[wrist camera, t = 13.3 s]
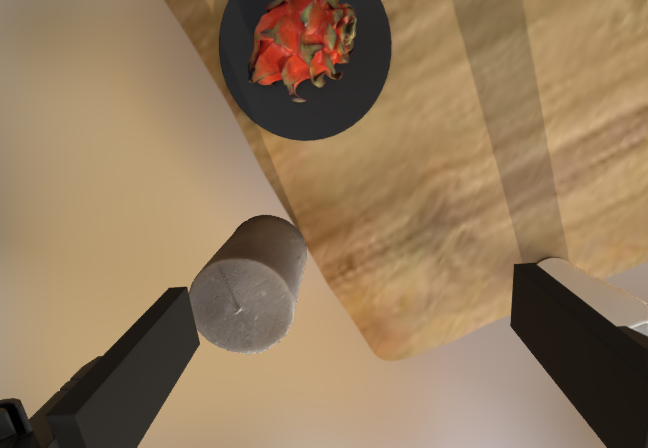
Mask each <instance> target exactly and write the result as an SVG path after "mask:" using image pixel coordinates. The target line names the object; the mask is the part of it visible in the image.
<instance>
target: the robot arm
mask: <svg viewBox="0 0 648 448" xmlns="http://www.w3.org/2000/svg"><path fill="white" fill-rule="evenodd" d="M510 326H511V327H512V329H513V330H514V331H515V332H516V334H517V335H518V336H519V337H520V339H521V340H522V341H523V343H524V344H525V345H526V346H527V347H528V349H529V350H530V351H531V353H532V354H533V355H534V356H535V358H536V359H537V360H538V361H539V363H540V364H541V365H542V366H543V368H544V369H545V370H546V371H547V373H548V374H549V375H550V376H551V378H552V379H553V380H554V381H555V383H556V384H557V385H558V387H559V388H560V389H561V390H562V391H563V393H564V394H565V395H566V397H567V398H568V399H569V400H570V402H571V403H572V404H573V405H574V406H575V408H576V409H577V410H578V412H579V413H580V414H581V415H582V417H583V418H584V419H585V420H586V421H587V423H588V424H589V426H590V427H591V428H592V429H593V430H594V432H595V433H596V434H597V435H598V437H599V438H600V439H601V441H602V442H603V443H604V444H605V446H606V447H607V448H648V336H646V335H644V334H642V333H640V332H638V331H636V330H633V329H631V328H629V327H627V326H615V325H614V324H613V323H611V322H610V321H609V320H608V319H606V318H605V317H604V316H602V315H601V314H600V313H599V312H597V311H596V310H595V309H593V308H592V307H591V306H590V305H588V304H587V303H586V302H584V301H583V300H582V299H581V298H579V297H578V296H577V295H575V294H574V293H573V292H572V291H570V290H569V289H568V288H566V287H565V286H564V285H563V284H561V283H560V282H559V281H557V280H556V279H555V278H554V277H552V276H551V275H550V274H548V273H547V272H546V271H545V270H543V269H542V268H541V267H539V266H538V265H537V264H535V263H525V264H514V276H513V292H512V308H511V325H510ZM199 345H200V342H199V337H198V333H197V328H196V324H195V320H194V315H193V311H192V306H191V302H190V297H189V293H188V289H187V287H175V288H169V289H168V290H167V291H166V292H165V293H164V294H163V295H162V296H161V297H160V298H159V299H158V300H157V301H156V302H155V303H154V304H153V305H152V306H151V307H150V308H149V309H148V310H147V311H146V312H145V313H144V314H143V315H142V316H141V317H140V318H139V319H138V320H137V321H136V323H134V324H133V325H132V327H131V328H130V329H129V330H128V331H127V332H126V333H125V334H124V335H123V336H122V337H121V338H120V339H119V340H118V341H117V342H116V343H115V344H114V345H113V346H112V347H111V348H110V349H109V350H108V351H107V352H106V353H105V354H104V355H103V356H98V357H97V358H95V359H94V360H92V361H91V362H89V363H88V364H86V365H85V366H83V367H82V368H81V369H80V370H79V371H78V372H77V373H76V374H75V375H74V376H73V377H72V378H71V379H70V381H68V382H67V383H65V384H64V385H63V386H62V387H61V388H60V391H58V392H57V393H55V394H54V395H53V396H52V397H51V398H50V399H49V400H48V401H47V402H46V403H45V404H44V405H43V406H42V407H41V408H40V409H39V410H38V411H37V412H36V413H35V414H34V415H33V416H32V417H31V418H30V419H28V417H27V415H26V412H25V410H24V407H23V405H22V403H21V401H20V400H19V399H15V398H11V399H3V400H0V448H137V447H138V445H139V443H140V442H141V440H142V439H143V437H144V435H145V434H146V432H147V430H148V429H149V427H150V425H151V423H152V422H153V420H154V419H155V417H156V415H157V414H158V412H159V410H160V409H161V407H162V405H163V404H164V402H165V401H166V399H167V397H168V396H169V394H170V392H171V391H172V389H173V387H174V386H175V384H176V382H177V381H178V379H179V377H180V376H181V374H182V373H183V371H184V369H185V368H186V366H187V364H188V363H189V361H190V359H191V358H192V356H193V354H194V353H195V351H196V350H197V348H198V346H199Z"/></svg>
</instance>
